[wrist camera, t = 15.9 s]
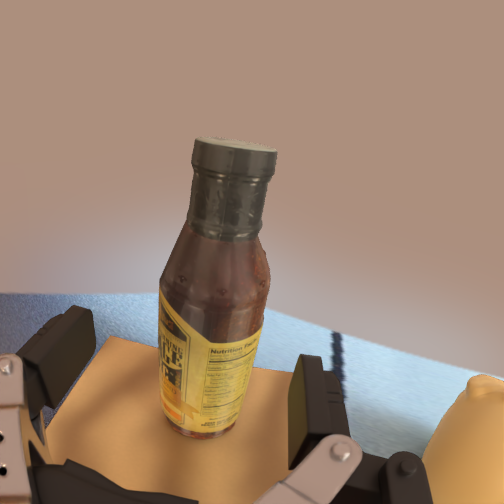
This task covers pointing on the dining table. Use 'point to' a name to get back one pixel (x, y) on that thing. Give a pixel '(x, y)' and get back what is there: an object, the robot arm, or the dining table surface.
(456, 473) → the tan rounded lump
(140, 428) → the mat
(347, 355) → the dining table surface
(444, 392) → the dining table surface
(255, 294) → the sauce bottle
